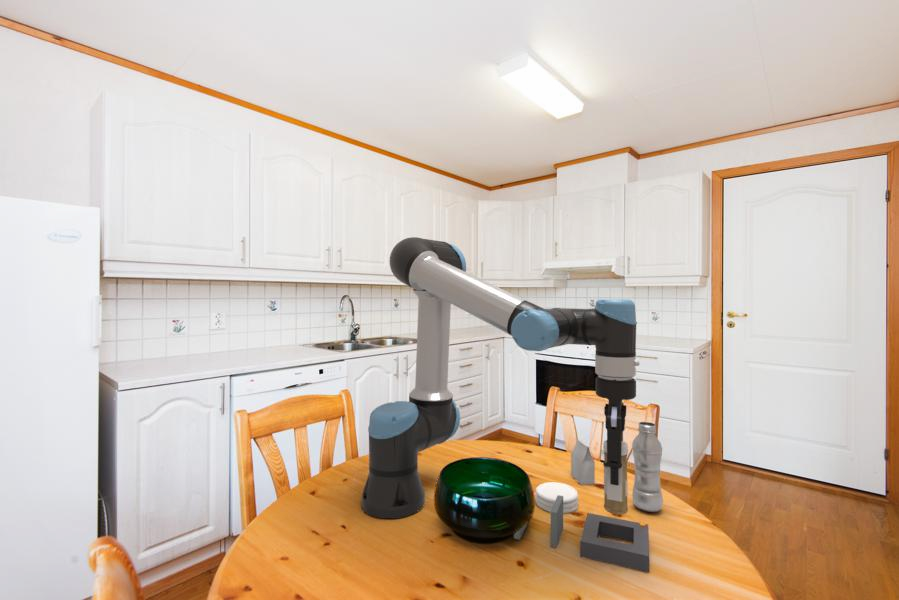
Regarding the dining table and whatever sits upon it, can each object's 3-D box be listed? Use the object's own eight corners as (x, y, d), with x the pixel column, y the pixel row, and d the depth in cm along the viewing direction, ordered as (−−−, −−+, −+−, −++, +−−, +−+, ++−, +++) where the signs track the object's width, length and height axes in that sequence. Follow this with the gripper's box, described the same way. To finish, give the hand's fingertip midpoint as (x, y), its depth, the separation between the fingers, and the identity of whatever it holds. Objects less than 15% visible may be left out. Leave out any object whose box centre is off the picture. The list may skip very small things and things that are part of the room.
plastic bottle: (650, 518, 97) (650, 429, 97) (625, 505, 103) (625, 422, 103) (669, 512, 100) (669, 425, 100) (644, 500, 106) (644, 418, 106)
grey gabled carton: (581, 485, 114) (581, 447, 114) (570, 475, 121) (571, 439, 121) (594, 484, 115) (594, 447, 115) (583, 474, 121) (583, 439, 121)
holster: (513, 538, 89) (513, 504, 89) (523, 520, 96) (523, 488, 96) (556, 548, 85) (556, 513, 85) (563, 528, 93) (563, 496, 93)
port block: (580, 556, 82) (580, 539, 82) (587, 526, 93) (587, 510, 93) (649, 572, 78) (649, 554, 78) (648, 539, 89) (648, 522, 89)
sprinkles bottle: (632, 511, 85) (632, 443, 85) (618, 518, 82) (618, 447, 82) (612, 502, 89) (612, 437, 89) (598, 508, 86) (598, 441, 86)
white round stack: (559, 492, 111) (559, 478, 111) (587, 509, 102) (587, 494, 102) (527, 500, 106) (527, 485, 106) (553, 518, 97) (553, 503, 97)
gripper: (635, 386, 76) (635, 518, 76) (636, 371, 92) (636, 480, 92) (591, 383, 79) (591, 510, 79) (599, 369, 95) (599, 474, 95)
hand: (615, 494), depth 86 cm, fingers closed on sprinkles bottle, 4 cm apart
